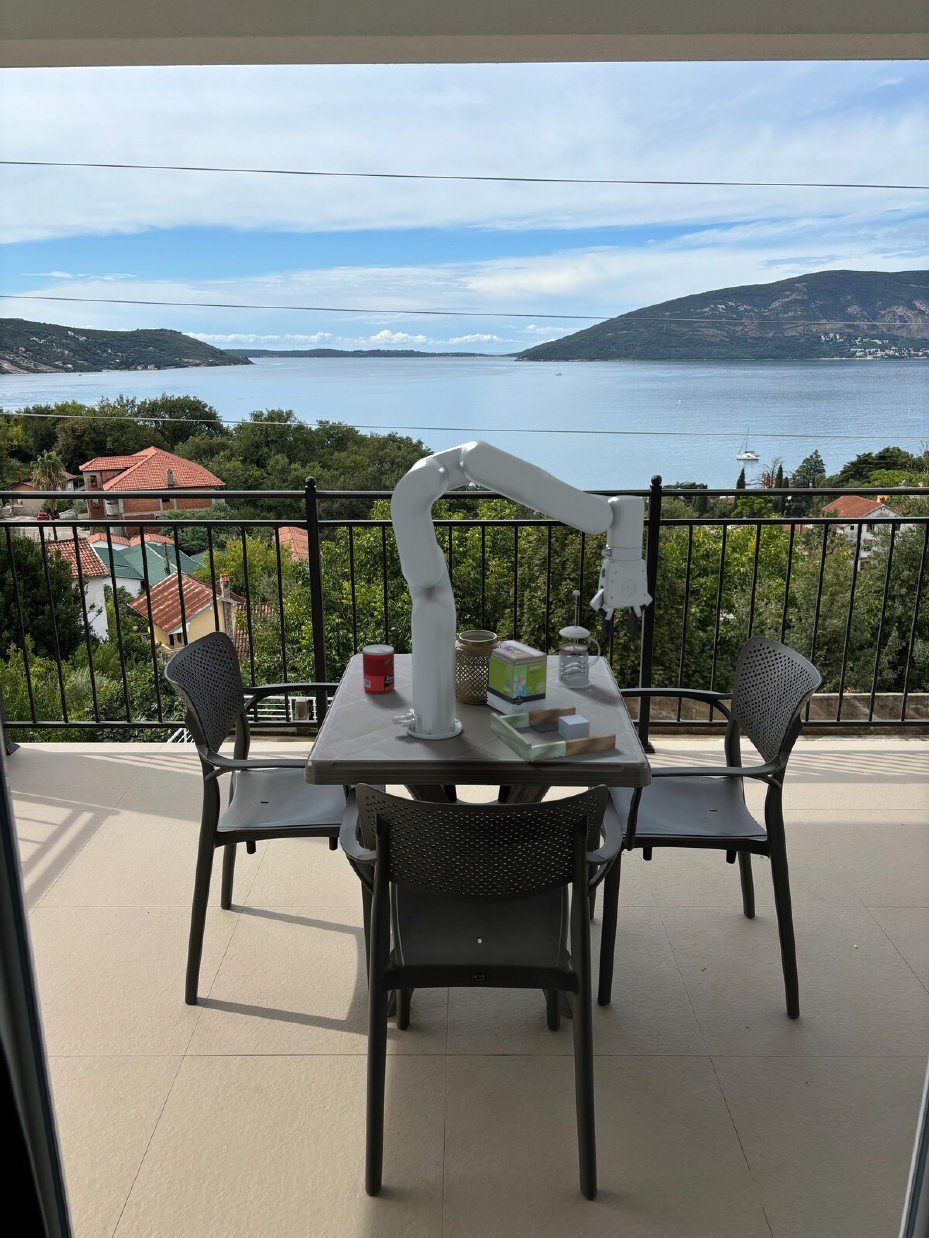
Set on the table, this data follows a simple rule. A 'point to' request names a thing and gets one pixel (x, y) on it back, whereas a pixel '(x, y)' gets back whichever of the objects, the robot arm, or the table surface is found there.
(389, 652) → the canned food
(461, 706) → the table surface
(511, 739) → the trap lane
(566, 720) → the block
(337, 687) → the table surface
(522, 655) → the tea box
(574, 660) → the french press
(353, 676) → the table surface
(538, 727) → the plate
